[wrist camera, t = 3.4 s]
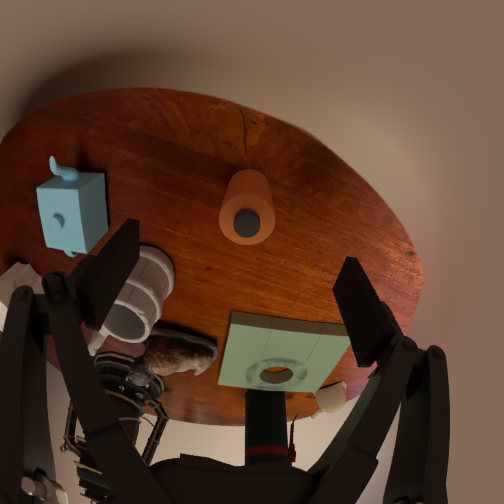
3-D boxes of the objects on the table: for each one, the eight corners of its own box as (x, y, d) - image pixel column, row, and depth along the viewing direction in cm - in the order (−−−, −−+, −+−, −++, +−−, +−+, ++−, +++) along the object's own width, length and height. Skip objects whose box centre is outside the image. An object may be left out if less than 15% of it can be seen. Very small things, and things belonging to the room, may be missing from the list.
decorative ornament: (347, 387, 48) (352, 409, 44) (309, 399, 50) (312, 420, 46) (344, 379, 47) (350, 402, 42) (304, 391, 48) (307, 414, 44)
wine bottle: (289, 404, 51) (298, 532, 25) (242, 401, 50) (239, 534, 25) (301, 386, 47) (315, 532, 21) (249, 383, 46) (246, 537, 21)
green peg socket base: (350, 325, 38) (355, 337, 36) (314, 382, 46) (315, 392, 44) (232, 310, 37) (231, 323, 34) (218, 373, 45) (217, 384, 43)
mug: (189, 274, 34) (166, 349, 23) (135, 311, 37) (108, 375, 27) (146, 231, 30) (103, 296, 20) (97, 276, 34) (58, 337, 24)
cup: (6, 254, 32) (-26, 287, 24) (39, 259, 33) (5, 298, 24) (23, 298, 38) (-2, 332, 29) (57, 307, 38) (31, 347, 29)
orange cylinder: (274, 173, 27) (282, 204, 19) (265, 212, 29) (268, 256, 22) (231, 165, 27) (221, 193, 19) (224, 204, 29) (213, 246, 21)
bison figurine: (222, 334, 39) (216, 391, 30) (213, 359, 43) (206, 412, 34) (144, 313, 37) (123, 366, 29) (143, 341, 41) (126, 391, 32)
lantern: (182, 373, 45) (157, 527, 19) (168, 404, 53) (148, 521, 27) (83, 335, 41) (25, 474, 15) (87, 373, 49) (49, 483, 23)
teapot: (67, 143, 24) (26, 159, 18) (108, 142, 25) (69, 157, 18) (75, 232, 30) (44, 263, 24) (112, 237, 31) (84, 271, 24)
